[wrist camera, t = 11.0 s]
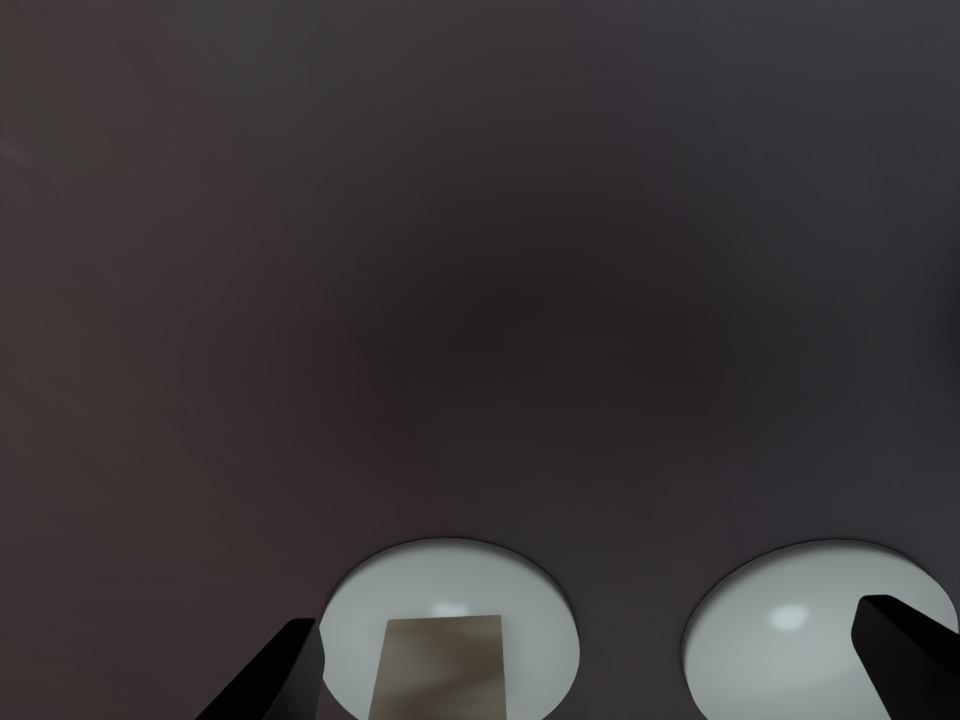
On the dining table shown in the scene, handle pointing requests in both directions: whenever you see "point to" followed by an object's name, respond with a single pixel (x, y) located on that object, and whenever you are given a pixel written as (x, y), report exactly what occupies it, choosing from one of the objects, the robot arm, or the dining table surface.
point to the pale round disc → (452, 593)
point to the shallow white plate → (798, 632)
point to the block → (441, 670)
